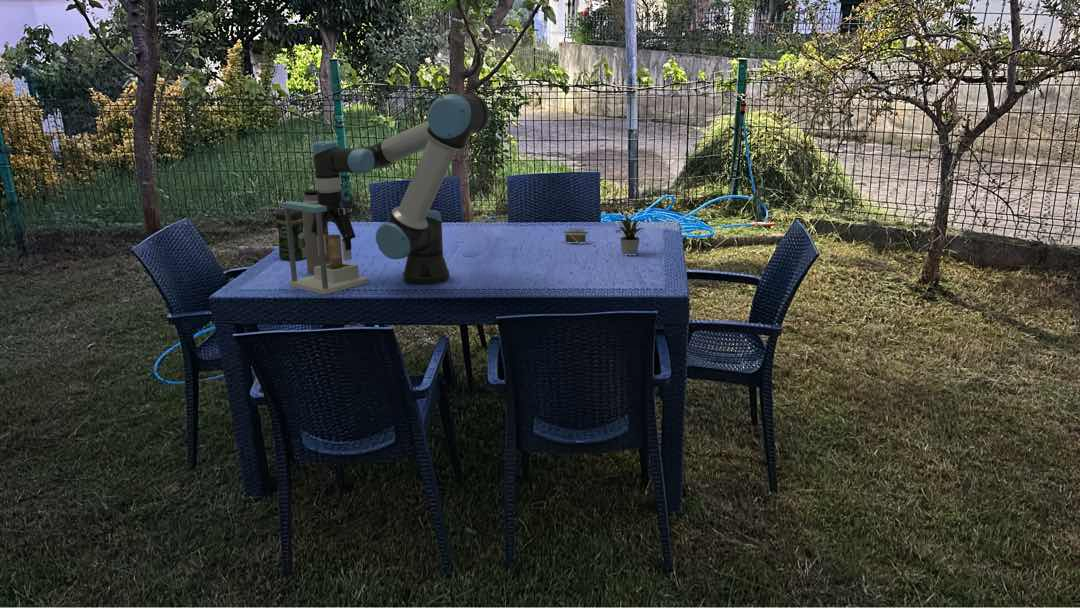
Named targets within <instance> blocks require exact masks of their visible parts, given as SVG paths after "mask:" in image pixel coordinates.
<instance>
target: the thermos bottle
mask: <svg viewBox="0 0 1080 608" xmlns="http://www.w3.org/2000/svg"><path fill="white" fill-rule="evenodd" d="M318 192H319V191H318V190H309V191H305V192H304V195H305V196H304V197H305V198H304V199H305V200H304V201H303V202H302V203H309V204H316V205H320V204H319V203H318V199H317V193H318ZM313 218H314V212H307V211H302V219H303V232H304V239H305V248H306V258H305V259H306V265H307V274H308V275H309V274H310V275H309V276H314V267H316V266H320V256H319V253H318V244H317V238H316V235H315V233H312V232H311V229H312V223H313ZM328 223H329V222H328ZM328 223H327V226H326V228H325V230H324V233H325V234H323V235H325V239H326V250H327V254H325V259H326V264H329V263H330V260H329V246H328V235H330V234H329V226H328V225H329V224H328ZM315 229H316V228H315Z"/></svg>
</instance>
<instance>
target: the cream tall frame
mask: <svg viewBox="0 0 1080 608" xmlns="http://www.w3.org/2000/svg"><path fill="white" fill-rule="evenodd" d="M280 208H282V209H284V210H285V219H286V229H287V238H288V247H289V257H290V260H289V263H290V274H291V280H290V281H288V285H289V287H291V286H292V287H291V288H295V287H296V288H295V289H299V290H303V291H307V292H311V293H316V294H319V295H328V294H332V293H336V292H340V291H343V290H346V289H347V288H348V289H350V287H351V288H354V286H355V287H358V285H359V286H362V285H361V284H363V285H366V284H365V283H367V284H370V283H369V282H370V278H369V277H365V276H361V275H360V273H359V265H358V264H354V263H348V262H344V261H342V264H343V268H339V269H334V270H333V269H330V263H329V264H326V259H325V248H324V238H323V227H322V216H321V212H324V211H327V206H323V205H316V204H309V203H303V202H299V201H293V200H291V201H282V202H280ZM290 209H294V210H301V211H307V212H314V213H315V214H316V224H317V235H318V245H319V256H320V266H316V267H314V275H309V276H306V277H302V278H298V275H297V264H296V260H295V252H294V243H293V233H292V224H291V214H290Z"/></svg>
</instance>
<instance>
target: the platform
mask: <svg viewBox="0 0 1080 608" xmlns="http://www.w3.org/2000/svg"><path fill="white" fill-rule="evenodd" d="M574 230H575V231H574ZM580 230H585V229H584V228H580V227H579V228H573V227H572V228H571V227H569V228H568V231H562V234H563V235H565V243H566V242H578V243H580V242H586V243H587V241H586V238H587V237H586V235H589V231H580Z"/></svg>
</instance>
